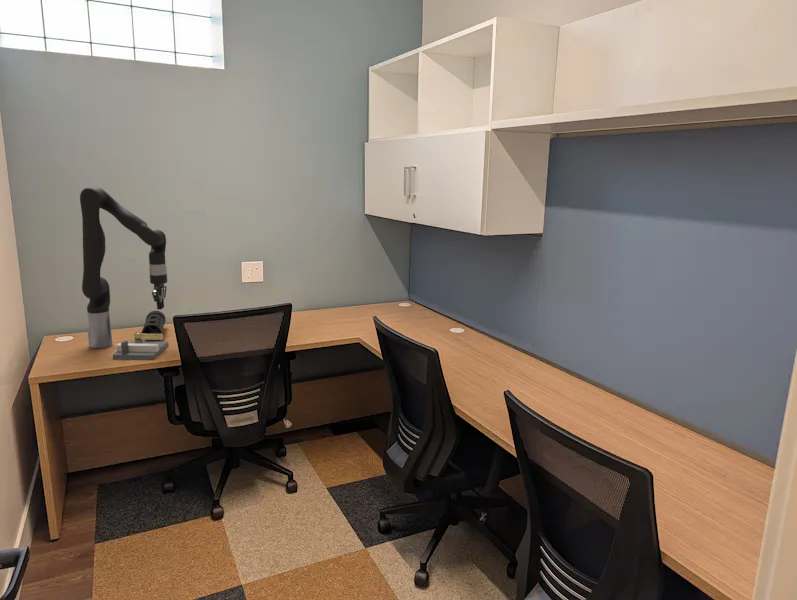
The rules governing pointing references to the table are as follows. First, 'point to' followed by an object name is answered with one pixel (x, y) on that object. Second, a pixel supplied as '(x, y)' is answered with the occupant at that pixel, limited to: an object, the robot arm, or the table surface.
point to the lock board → (142, 354)
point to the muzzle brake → (154, 323)
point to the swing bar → (147, 336)
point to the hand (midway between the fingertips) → (160, 308)
